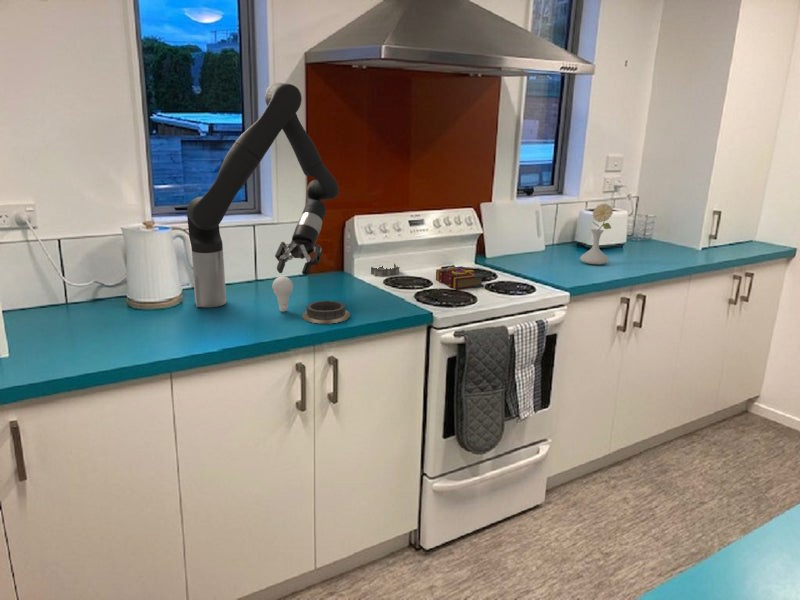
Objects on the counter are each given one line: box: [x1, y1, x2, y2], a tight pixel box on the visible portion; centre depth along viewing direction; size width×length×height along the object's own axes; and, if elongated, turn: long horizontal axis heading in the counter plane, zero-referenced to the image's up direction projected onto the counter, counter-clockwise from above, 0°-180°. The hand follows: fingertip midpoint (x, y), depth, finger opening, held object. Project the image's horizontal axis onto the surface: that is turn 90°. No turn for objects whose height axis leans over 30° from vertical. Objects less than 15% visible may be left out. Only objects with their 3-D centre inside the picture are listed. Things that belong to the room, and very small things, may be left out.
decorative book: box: [435, 266, 485, 290], centre depth 230 cm, size 11×16×5 cm
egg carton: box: [370, 263, 401, 278], centre depth 241 cm, size 11×8×4 cm
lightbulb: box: [271, 275, 294, 313], centre depth 193 cm, size 6×6×11 cm
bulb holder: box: [302, 300, 351, 325], centre depth 190 cm, size 14×14×3 cm
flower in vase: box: [579, 203, 614, 265], centre depth 259 cm, size 13×11×25 cm
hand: (291, 273), depth 197 cm, fingers open, 8 cm apart
